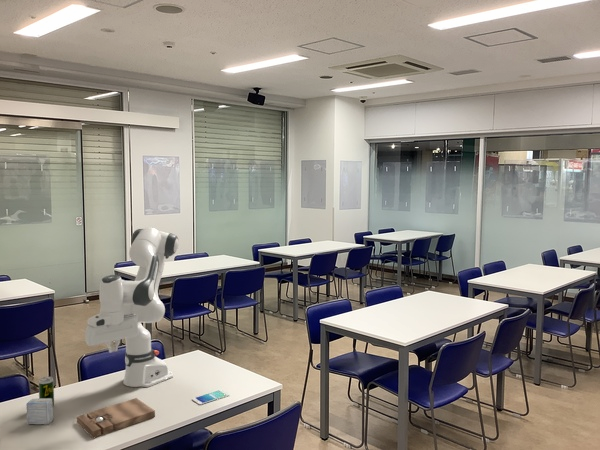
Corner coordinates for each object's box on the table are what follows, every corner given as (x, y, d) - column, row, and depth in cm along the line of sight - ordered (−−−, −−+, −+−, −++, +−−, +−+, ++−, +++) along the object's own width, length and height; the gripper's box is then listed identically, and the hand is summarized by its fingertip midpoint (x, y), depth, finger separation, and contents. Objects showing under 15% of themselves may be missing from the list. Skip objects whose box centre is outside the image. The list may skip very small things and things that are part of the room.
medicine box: (53, 419, 194) (52, 397, 193) (48, 425, 189) (47, 402, 189) (32, 419, 194) (32, 398, 193) (27, 425, 189) (26, 403, 188)
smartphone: (230, 394, 216) (199, 404, 206) (230, 396, 216) (199, 406, 206) (221, 389, 222) (191, 398, 212) (221, 391, 222) (191, 400, 212)
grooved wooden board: (136, 403, 208) (136, 398, 207) (154, 416, 196) (154, 410, 196) (77, 422, 191) (76, 416, 191) (93, 438, 180) (93, 431, 179)
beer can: (36, 408, 203) (35, 379, 202) (49, 403, 208) (47, 375, 207) (45, 411, 201) (43, 382, 200) (57, 406, 205) (56, 378, 204)
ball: (102, 415, 191) (94, 416, 189) (105, 417, 189) (97, 419, 187) (101, 423, 191) (92, 424, 189) (104, 426, 189) (96, 427, 187)
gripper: (133, 311, 206) (134, 344, 207) (82, 320, 192) (84, 355, 193) (140, 314, 201) (141, 347, 202) (89, 323, 187) (90, 359, 188)
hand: (113, 351), depth 197 cm, fingers closed
